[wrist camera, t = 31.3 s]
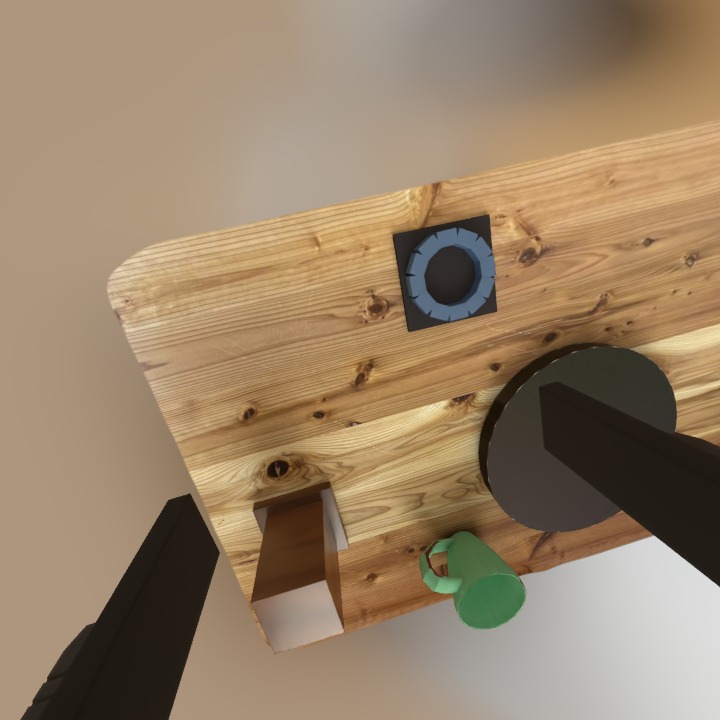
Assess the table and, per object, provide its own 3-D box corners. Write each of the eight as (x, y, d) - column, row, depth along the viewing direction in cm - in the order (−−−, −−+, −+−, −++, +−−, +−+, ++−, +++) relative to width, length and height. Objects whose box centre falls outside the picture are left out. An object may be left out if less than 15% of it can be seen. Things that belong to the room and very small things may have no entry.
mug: (499, 525, 54) (539, 580, 45) (473, 572, 56) (505, 634, 47) (420, 504, 51) (444, 559, 42) (395, 555, 53) (413, 618, 44)
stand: (254, 503, 47) (231, 596, 34) (329, 481, 48) (336, 564, 35) (278, 561, 50) (265, 667, 37) (348, 540, 51) (360, 637, 38)
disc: (601, 297, 46) (620, 299, 43) (687, 433, 54) (708, 442, 52) (437, 441, 49) (445, 452, 46) (544, 548, 57) (556, 563, 54)
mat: (408, 331, 43) (409, 332, 43) (392, 234, 40) (393, 234, 39) (494, 311, 44) (497, 311, 44) (487, 215, 41) (489, 214, 40)
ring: (398, 241, 40) (402, 240, 38) (482, 221, 40) (489, 218, 39) (414, 327, 43) (419, 329, 41) (492, 306, 43) (499, 308, 42)
